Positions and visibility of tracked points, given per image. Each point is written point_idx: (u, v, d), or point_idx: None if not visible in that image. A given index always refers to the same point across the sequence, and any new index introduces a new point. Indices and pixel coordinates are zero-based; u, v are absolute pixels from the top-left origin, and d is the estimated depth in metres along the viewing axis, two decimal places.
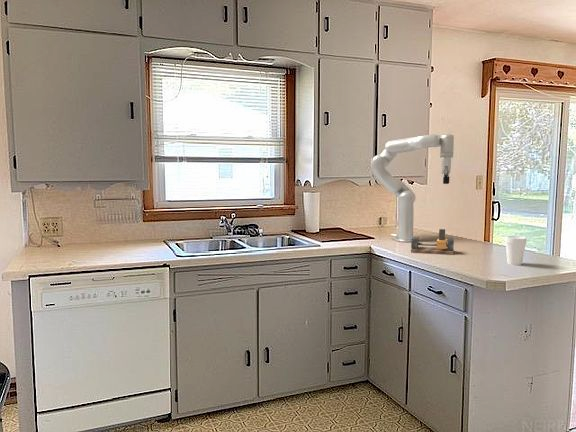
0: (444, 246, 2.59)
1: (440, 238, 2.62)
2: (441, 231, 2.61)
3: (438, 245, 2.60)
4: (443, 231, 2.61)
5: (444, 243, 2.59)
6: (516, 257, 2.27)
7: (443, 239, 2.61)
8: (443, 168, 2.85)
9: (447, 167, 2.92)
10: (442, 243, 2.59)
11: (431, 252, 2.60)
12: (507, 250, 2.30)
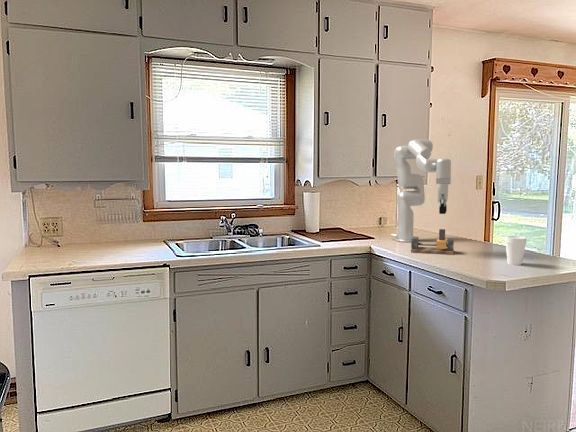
0: (444, 246, 2.59)
1: (440, 238, 2.62)
2: (441, 231, 2.61)
3: (438, 245, 2.60)
4: (443, 231, 2.61)
5: (444, 243, 2.59)
6: (516, 257, 2.27)
7: (443, 239, 2.61)
8: (439, 196, 2.56)
9: None
10: (442, 243, 2.59)
11: (431, 252, 2.60)
12: (507, 250, 2.30)
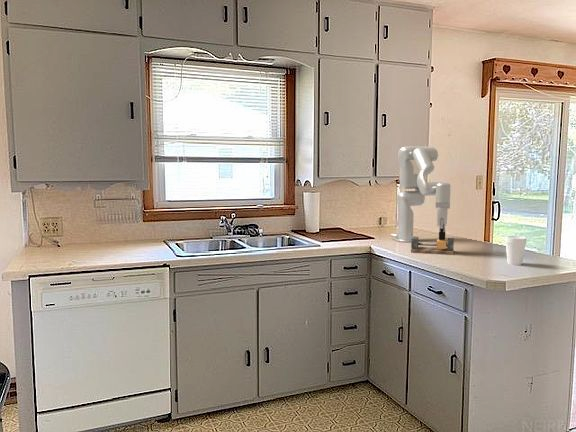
0: (444, 246, 2.59)
1: None
2: None
3: (438, 245, 2.60)
4: None
5: (444, 243, 2.59)
6: (516, 257, 2.27)
7: (443, 239, 2.61)
8: (438, 224, 2.58)
9: None
10: (442, 243, 2.59)
11: (431, 252, 2.60)
12: (507, 250, 2.30)
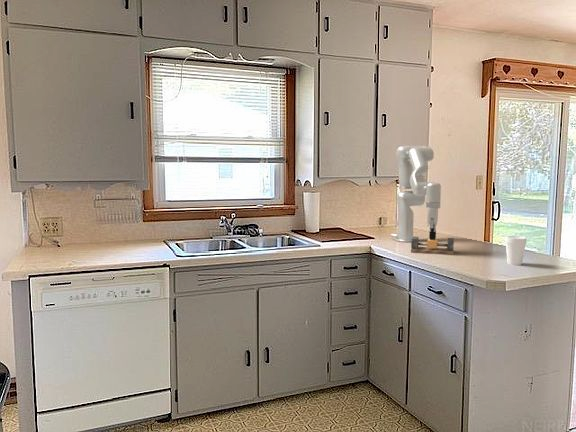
0: (434, 246, 2.61)
1: None
2: None
3: (428, 245, 2.62)
4: None
5: (434, 243, 2.61)
6: (516, 257, 2.27)
7: (433, 239, 2.63)
8: (429, 224, 2.60)
9: None
10: (432, 243, 2.61)
11: (431, 252, 2.60)
12: (507, 250, 2.30)
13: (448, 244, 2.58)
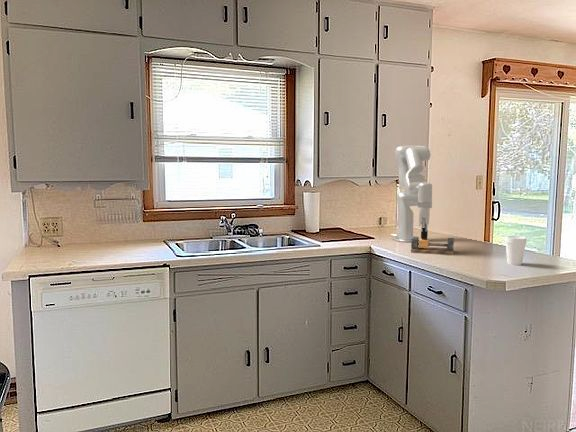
0: (426, 245, 2.63)
1: None
2: None
3: (420, 244, 2.64)
4: None
5: (426, 242, 2.62)
6: (516, 257, 2.27)
7: None
8: (420, 223, 2.61)
9: None
10: (424, 242, 2.63)
11: (431, 252, 2.60)
12: (507, 250, 2.30)
13: (448, 244, 2.58)
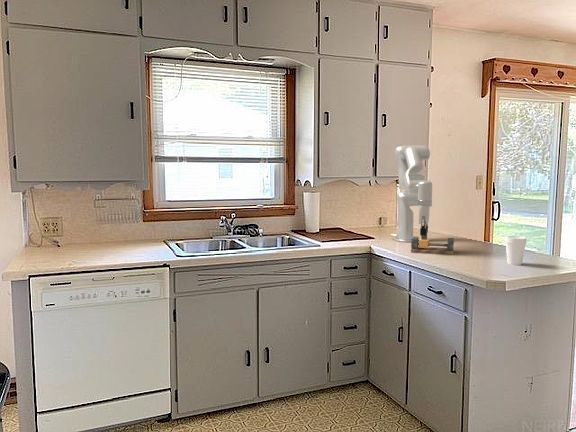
0: (426, 245, 2.63)
1: (422, 237, 2.65)
2: None
3: (420, 244, 2.64)
4: None
5: (426, 242, 2.62)
6: (516, 257, 2.27)
7: (425, 238, 2.65)
8: (420, 218, 2.61)
9: None
10: (424, 242, 2.63)
11: (431, 252, 2.60)
12: (507, 250, 2.30)
13: (448, 244, 2.58)
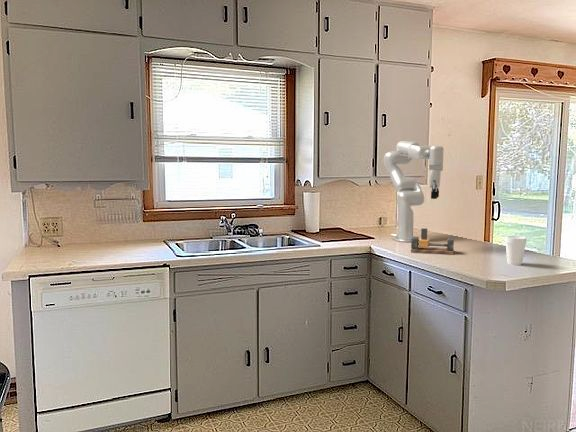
0: (426, 245, 2.63)
1: (422, 237, 2.65)
2: (423, 230, 2.64)
3: (420, 244, 2.64)
4: (425, 230, 2.64)
5: (426, 242, 2.62)
6: (516, 257, 2.27)
7: (425, 238, 2.65)
8: (431, 182, 2.68)
9: None
10: (424, 242, 2.63)
11: (431, 252, 2.60)
12: (507, 250, 2.30)
13: (448, 244, 2.58)
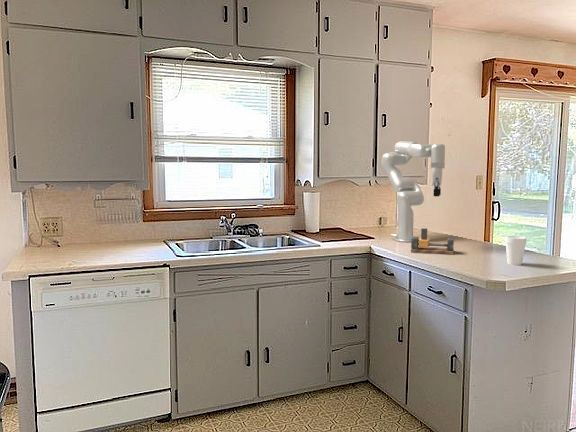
0: (426, 245, 2.63)
1: (422, 237, 2.65)
2: (423, 230, 2.64)
3: (420, 244, 2.64)
4: (425, 230, 2.64)
5: (426, 242, 2.62)
6: (516, 257, 2.27)
7: (425, 238, 2.65)
8: (433, 180, 2.69)
9: None
10: (424, 242, 2.63)
11: (431, 252, 2.60)
12: (507, 250, 2.30)
13: (448, 244, 2.58)
